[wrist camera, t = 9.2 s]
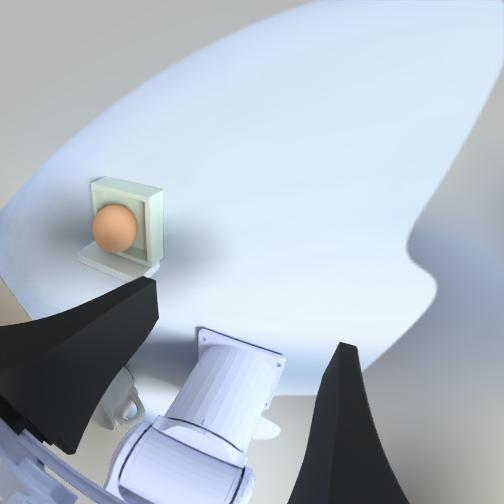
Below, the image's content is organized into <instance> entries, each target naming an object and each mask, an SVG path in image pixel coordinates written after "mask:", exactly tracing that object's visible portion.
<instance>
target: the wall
mask: <svg viewBox="0 0 504 504" xmlns="http://www.w3.org/2000/svg"><path fill="white" fill-rule="evenodd" d="M77 257H78V261H80V262H82V263H84V264H86V265H88V266H91V267H93V268H95V269H97V270H100V271H102V272H104V273H106V274H109V275H111V276H113V277H116V278H118V279H120V280H123V281H125V282H127V283H128V282H130V281H133V280H135V279H137V278H139V277H141V276H145V277H148V278H150V277H151V276H152V275H153V274H154V273H155V272H156V271H157V270H158V269H159V268H160V261H159V262H158V263H157V264H156V265H155V266H154V267H152V268H151V267H149V266H146V265H143V264H141V263H138V262H135V261H133V260H130V259H127V258H125V257H122V256H119V255H117V254H114V253H112V252H108V251H105V250H103V249H101V248H99V247H98V244H97V243H96V242H95V240H94V241H93V242H91V243H90V244H89V245H87V246H86V247H84V248H83V249H82V250H80V251H79V252H78V253H77Z"/></svg>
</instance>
